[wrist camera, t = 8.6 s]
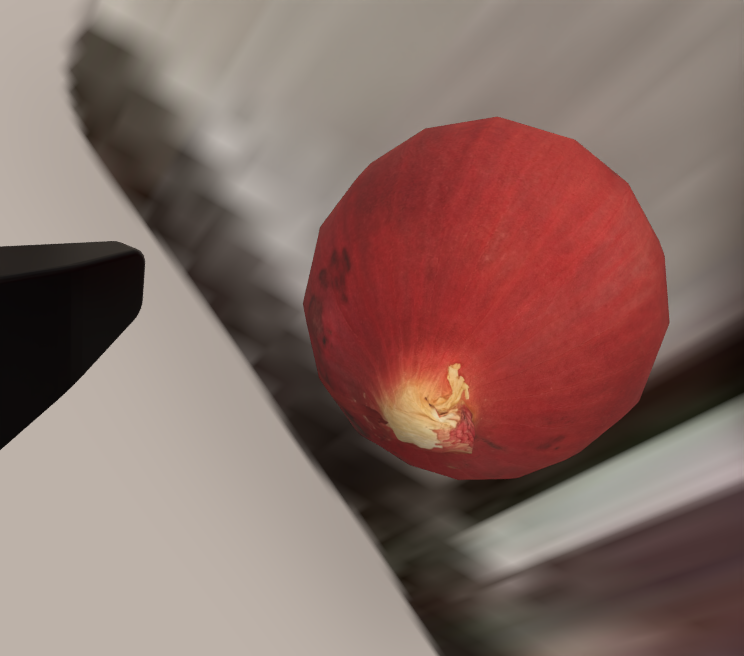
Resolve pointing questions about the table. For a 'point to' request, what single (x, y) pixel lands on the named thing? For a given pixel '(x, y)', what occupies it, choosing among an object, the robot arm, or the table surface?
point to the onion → (486, 300)
